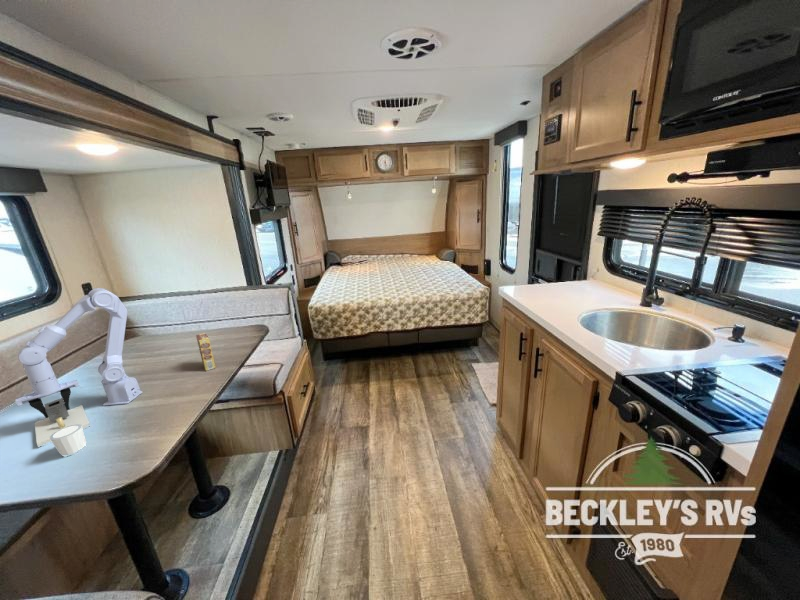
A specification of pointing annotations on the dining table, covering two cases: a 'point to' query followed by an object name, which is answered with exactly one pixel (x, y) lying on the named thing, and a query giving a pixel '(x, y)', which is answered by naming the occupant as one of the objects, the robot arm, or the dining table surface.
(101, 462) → the dining table surface
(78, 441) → the white faceted cup
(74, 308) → the robot arm
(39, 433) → the housing base
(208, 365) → the candy box
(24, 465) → the dining table surface
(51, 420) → the grey hollow block
